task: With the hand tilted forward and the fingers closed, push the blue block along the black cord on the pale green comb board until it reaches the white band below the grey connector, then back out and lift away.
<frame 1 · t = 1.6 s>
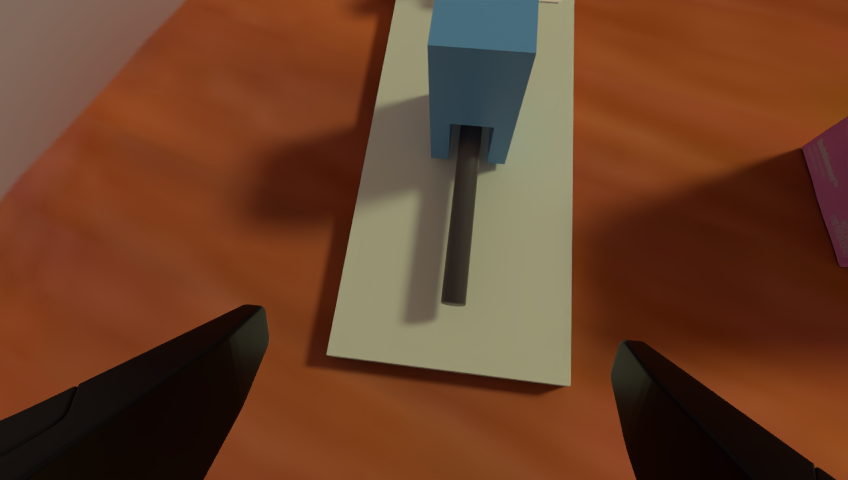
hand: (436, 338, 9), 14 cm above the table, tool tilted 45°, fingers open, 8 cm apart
blue block: (477, 73, 21), point 6 cm above the table, slide at 0.0 cm
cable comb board: (471, 125, 27), on the table
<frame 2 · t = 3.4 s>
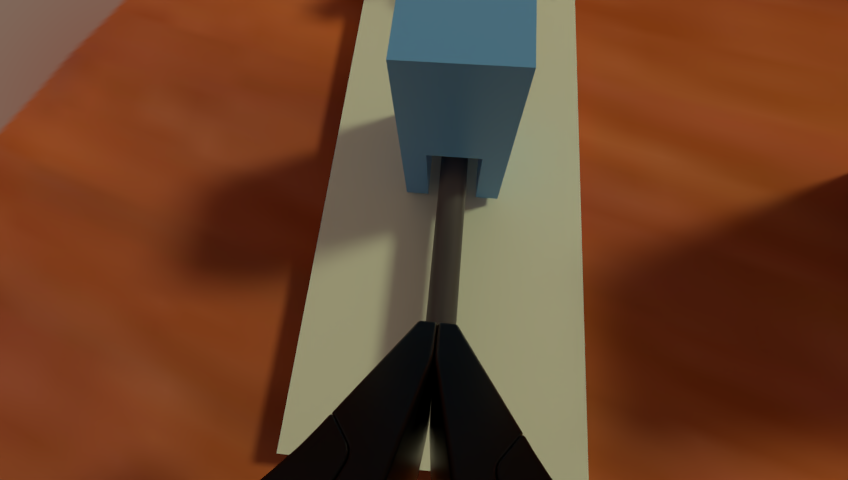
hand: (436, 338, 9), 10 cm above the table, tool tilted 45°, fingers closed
blue block: (459, 90, 17), point 6 cm above the table, slide at 0.0 cm
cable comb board: (456, 148, 23), on the table
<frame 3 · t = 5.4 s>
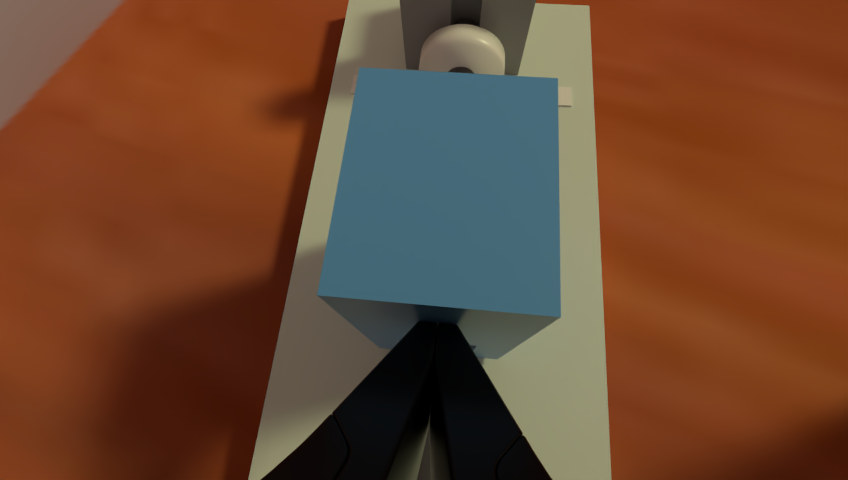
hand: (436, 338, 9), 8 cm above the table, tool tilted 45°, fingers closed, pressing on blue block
blue block: (445, 248, 12), point 6 cm above the table, slide at 1.7 cm, touching gripper
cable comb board: (441, 310, 17), on the table
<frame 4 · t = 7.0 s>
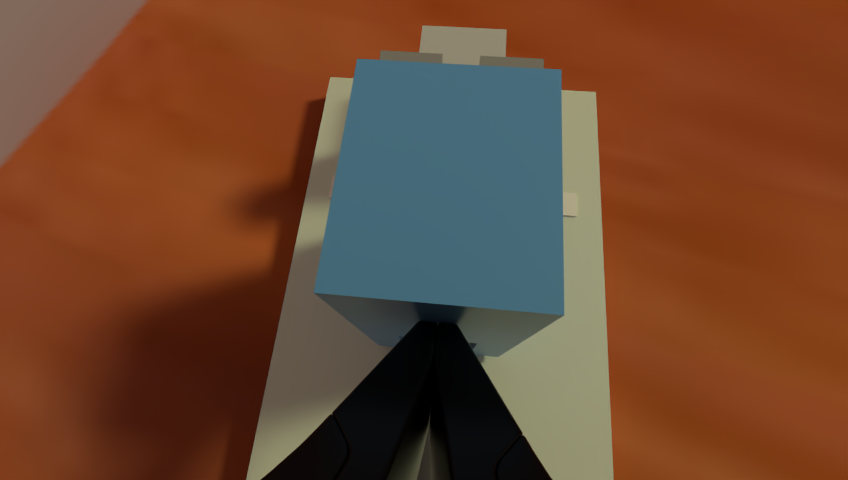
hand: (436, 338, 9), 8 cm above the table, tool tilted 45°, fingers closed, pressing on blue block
blue block: (445, 245, 12), point 6 cm above the table, slide at 7.2 cm, touching gripper
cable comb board: (429, 460, 15), on the table
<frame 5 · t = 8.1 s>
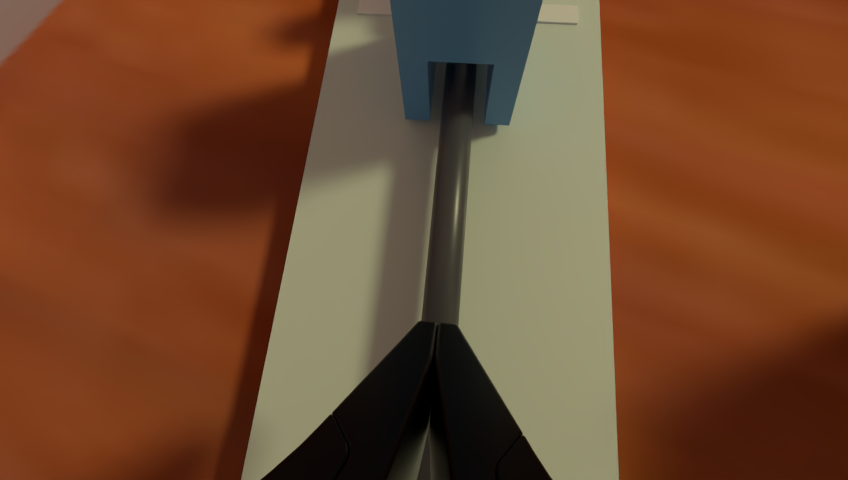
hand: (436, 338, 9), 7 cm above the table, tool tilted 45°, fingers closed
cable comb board: (449, 221, 18), on the table
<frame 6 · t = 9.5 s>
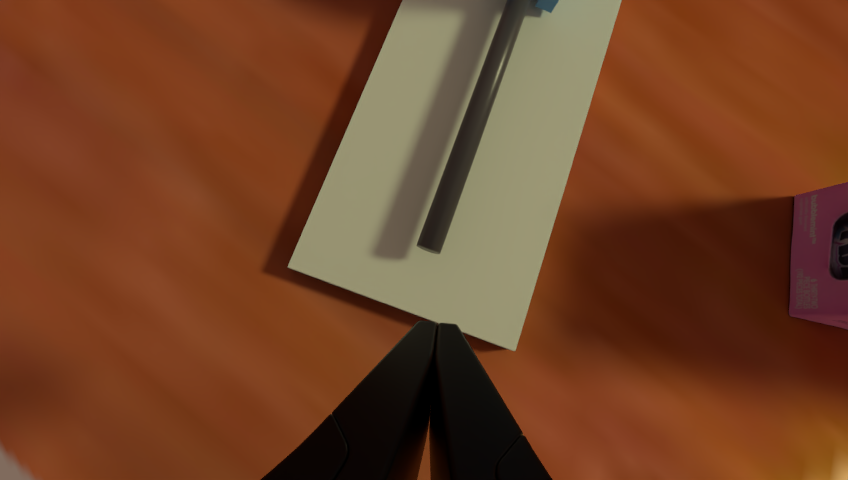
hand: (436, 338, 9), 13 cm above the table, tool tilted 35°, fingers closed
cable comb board: (489, 68, 25), on the table
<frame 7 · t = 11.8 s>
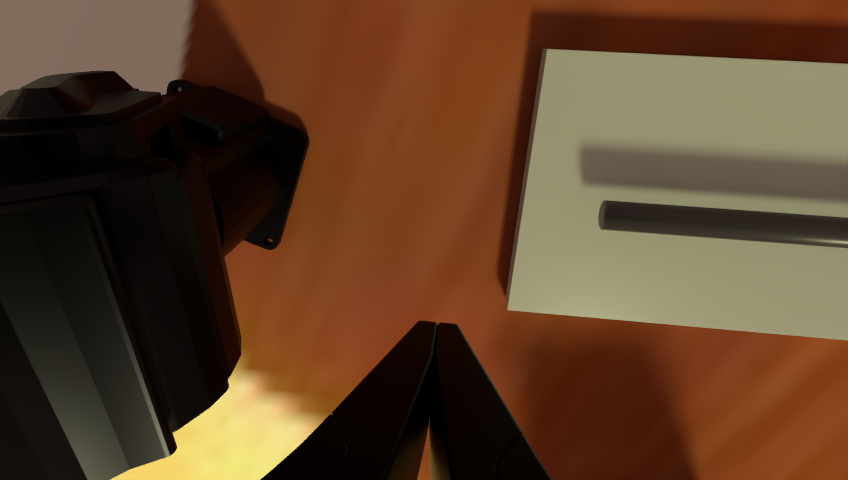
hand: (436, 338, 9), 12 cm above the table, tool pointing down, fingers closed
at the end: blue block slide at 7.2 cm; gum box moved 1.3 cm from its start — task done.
